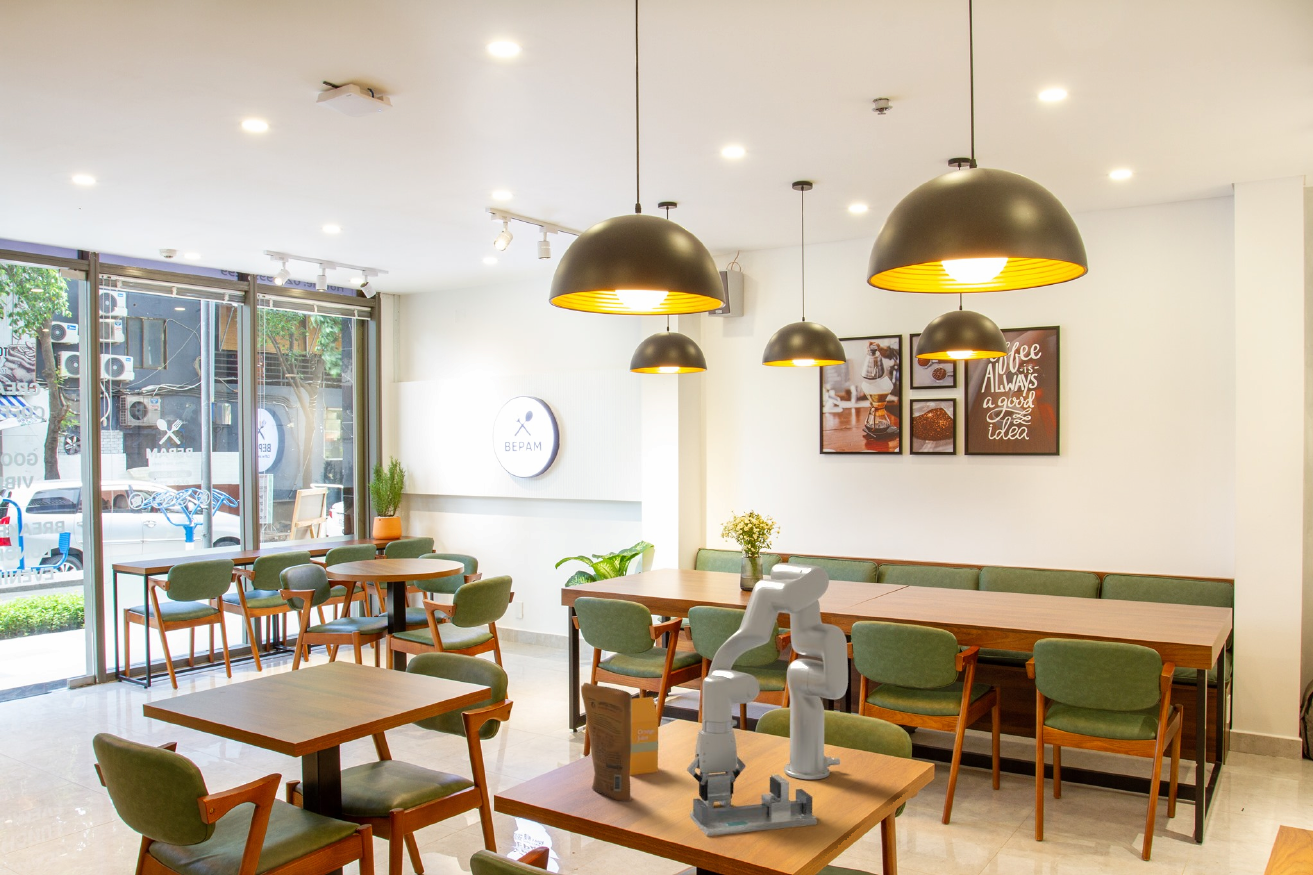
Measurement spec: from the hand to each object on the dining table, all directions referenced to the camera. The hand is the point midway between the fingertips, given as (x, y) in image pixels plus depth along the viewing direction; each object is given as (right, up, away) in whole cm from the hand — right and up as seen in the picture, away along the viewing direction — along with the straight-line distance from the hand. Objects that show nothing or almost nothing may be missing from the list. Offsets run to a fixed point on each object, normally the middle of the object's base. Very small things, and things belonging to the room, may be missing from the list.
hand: (716, 797), depth 237 cm
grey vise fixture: (+8, -2, -10) cm, 13 cm away
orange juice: (-20, -3, +28) cm, 35 cm away
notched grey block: (0, -2, 0) cm, 2 cm away
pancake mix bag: (-28, -2, +8) cm, 29 cm away
